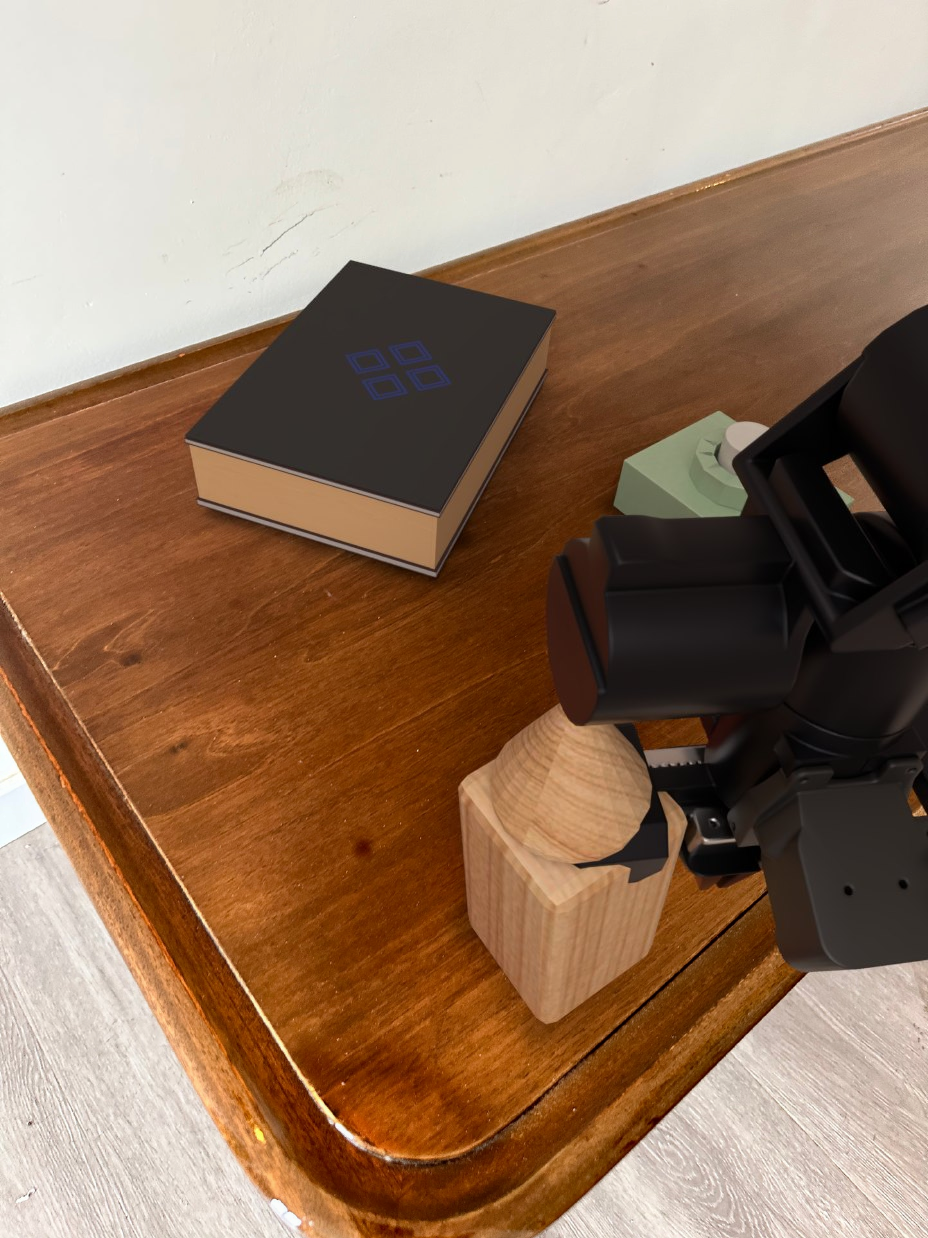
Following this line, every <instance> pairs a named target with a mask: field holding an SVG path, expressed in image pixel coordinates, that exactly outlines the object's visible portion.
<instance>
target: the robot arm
mask: <svg viewBox="0 0 928 1238" xmlns="http://www.w3.org/2000/svg"><path fill="white" fill-rule="evenodd" d="M768 428H769V429H768V430H767V431H766V432H764V433H763V434H762V435H761V436H759V437H758V438H757V439H756V440H754V441H753V442H752V443H751V444H749V445H748V446H747V447H746V448H744V449H743V450H742V451H741V452H739V453H738V454H737V455H736V456H735V457H734V459H733V460H732V467H733V469H734V471H735V473H736V474H737V476H738V478H739V480H740V482H741V484H742V486H743V488H744V489H745V491H746V493H747V495H748V497H747V500H746V502H745V504H744V507H743V509H742V512H741V514H740V516H723V517H697V518H658V517H652V516H647V515H625V514H616V515H614V514H613V515H611V514H609V515H601V516H600V517H598V518H597V519H595V521H594V522H593V525H592V530H591V532H590V533H591V534H590V537H573V538H572V537H571V538H570V539H569V540H568V541H567V542H565V544H564V546H563V547H562V549H561V551H560V553H559V554H554V555H553V556H552V559H551V563H550V567H549V573H548V579H547V586H546V587H547V588H546V597H545V598H546V599H545V629H546V631H545V632H546V645H547V653H548V660H549V667H550V671H551V672H550V673H551V677H552V682H553V686H554V690H555V693H556V697H557V699H558V702H559V703H560V704H561V707H562V709H563V711H564V713H565V715H566V716H567V718H568V720H569V721H570V722H571V723H573V724H574V725H575V726H593V725H606V724H613V725H614V726H615V727H616V728H617V729H618V730H619V731H620V732H621V733H622V734H623V735H624V737H625V738H626V739H627V740H628V741H629V742H630V743H631V744H632V745H633V747H634V748H635V749H636V751H637V752H638V754H639V755H640V757H641V758H642V759H643V761H644V762H645V764H646V767H647V770H648V773H649V777H650V780H651V784H652V792H651V802H650V808H649V810H648V812H647V813H646V815H645V817H644V819H643V820H642V822H641V824H640V828H639V830H638V832H637V833H636V834H635V835H634V836H633V837H632V838H631V840H630V841H629V842H628V843H627V844H626V845H625V846H624V848H623V849H622V850H620V851H618V852H616V853H614V854H612V855H610V856H608V857H605V858H603V859H601V860H599V861H591V862H583V863H576V864H573V865H574V866H576V867H577V868H579V869H583V868H589V867H600V866H611V865H622V866H625V867H628V868H631V870H630V875H629V879H628V883H635V882H639V881H641V880H643V879H645V878H647V877H649V876H651V875H653V874H655V873H658V872H660V871H662V869H663V867H664V865H665V863H666V861H667V860H668V858H669V845H668V821H667V818H666V815H665V813H664V810H663V807H662V804H661V801H660V798H659V795H658V792H667V793H668V795H669V796H670V797H671V798H672V799H673V800H674V801H675V802H676V803H677V804H678V805H679V806H680V807H681V809H682V810H683V813H684V815H685V817H686V820H687V827H686V830H685V834H684V837H683V840H682V844H681V847H680V851H679V854H678V857H679V859H680V861H681V863H682V865H683V866H684V868H685V869H686V870H687V871H688V872H689V873H691V874H692V875H693V876H694V878H695V879H694V880H695V882H696V884H697V888H698V889H699V891H708V890H709V889H711V888H712V887H713V886H714V885H716V887H717V888H718V889H727V888H729V887H731V886H733V885H735V884H737V883H739V882H741V881H744V880H746V879H747V878H749V877H751V876H753V875H755V874H757V873H760V872H762V871H763V872H762V873H763V876H764V881H765V886H766V888H767V894H768V895H767V896H768V899H769V904H770V907H771V912H772V918H773V922H774V926H775V927H774V928H775V931H774V938H775V942H776V947H777V949H778V952H779V954H780V957H782V959H783V960H784V962H785V963H786V964H787V965H788V966H789V967H791V968H792V969H794V970H796V971H797V972H801V973H819V972H821V973H822V972H823V973H824V972H835V971H852V970H853V971H854V970H855V971H856V970H864V969H871V968H880V967H887V966H894V965H901V964H909V963H917V962H924V961H928V303H927V304H925V305H923V306H920V307H918V308H916V309H913V310H912V311H911V312H909V313H908V314H906V315H905V316H903V317H901V319H898V320H897V321H896V322H894V323H892V324H891V325H889V326H888V327H886V328H885V329H884V330H882V331H881V332H880V333H879V334H878V335H876V337H875V338H874V339H872V340H871V341H870V342H869V343H868V344H867V345H866V346H864V348H863V350H862V351H861V354H860V355H859V356H857V358H855V359H854V360H853V361H851V362H850V363H849V364H847V366H845V367H844V368H842V370H840V371H839V372H838V373H837V374H835V375H834V376H833V377H832V378H830V379H829V380H828V381H826V382H825V383H824V384H823V385H822V386H820V387H819V388H818V389H816V391H814V392H812V394H811V395H809V396H808V397H807V398H805V399H804V400H802V402H801V403H799V404H798V405H796V407H794V408H793V409H792V410H790V411H789V412H788V413H787V414H785V415H784V416H783V417H782V418H780V419H779V420H778V421H777V422H775V423H774V424H773V425H772V426H770V427H768ZM846 456H848V457H849V458H850V460H851V461H852V463H853V464H854V465H855V467H856V468H857V470H858V471H859V473H860V474H861V476H862V477H863V479H864V480H865V482H866V483H867V484H868V487H870V489H871V491H872V492H873V494H874V495H875V497H876V498H877V500H878V501H879V503H880V504H881V506H882V507H883V508H884V510H876V511H873V510H872V511H857V512H856V511H855V512H852V511H851V509H850V510H849V508H848V507H847V505H846V504H845V502H844V500H843V499H842V497H841V496H840V494H839V493H838V491H837V489H836V488H835V487H836V485H834V483H833V481H832V480H831V478H830V477H829V475H828V474H827V471H826V470H825V469H824V468H823V467H825V466H828V465H830V464H831V463H834V462H836V461H837V460H839V459H842V458H844V457H846ZM695 718H699V720H700V722H701V723H700V724H701V725H702V727H703V730H704V733H705V736H706V737H707V740H708V741H707V743H703V744H689V745H678V746H677V745H676V746H666V747H659V748H656V749H648V750H647V749H645V750H644V748H643V745H642V742H641V739H640V737H639V733H638V731H637V728H636V725H635V723H645V722H657V721H669V720H682V719H684V720H685V719H695ZM912 790H913V792H914V794H915V796H916V799H917V800H918V801H919V804H920V805H921V807H922V809H923V811H924V813H925V814H924V815H917V816H916V815H914V814H913V811H912V809H911V806H910V803H909V798H910V796H911V792H912Z"/></svg>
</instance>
